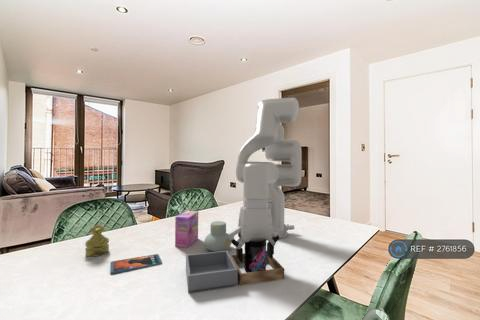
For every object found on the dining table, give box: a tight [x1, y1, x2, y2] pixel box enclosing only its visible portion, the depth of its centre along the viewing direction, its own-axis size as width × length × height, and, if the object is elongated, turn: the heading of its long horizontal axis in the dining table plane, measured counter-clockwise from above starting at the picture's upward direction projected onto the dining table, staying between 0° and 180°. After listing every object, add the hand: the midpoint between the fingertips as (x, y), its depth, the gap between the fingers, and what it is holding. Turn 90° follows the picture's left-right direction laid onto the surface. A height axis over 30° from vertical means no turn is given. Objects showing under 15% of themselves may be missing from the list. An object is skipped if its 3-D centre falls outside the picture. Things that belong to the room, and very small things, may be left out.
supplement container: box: [243, 239, 267, 273], centre depth 73 cm, size 7×7×10 cm
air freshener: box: [203, 220, 232, 252], centre depth 89 cm, size 11×8×10 cm
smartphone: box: [109, 253, 163, 275], centre depth 77 cm, size 8×1×15 cm
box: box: [174, 210, 199, 249], centre depth 96 cm, size 10×6×12 cm, turn 168°
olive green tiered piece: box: [84, 224, 110, 258], centre depth 86 cm, size 7×7×10 cm
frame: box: [229, 250, 285, 286], centre depth 73 cm, size 13×13×3 cm
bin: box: [185, 250, 239, 294], centre depth 69 cm, size 13×13×4 cm
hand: (255, 258), depth 73 cm, fingers open, 9 cm apart
